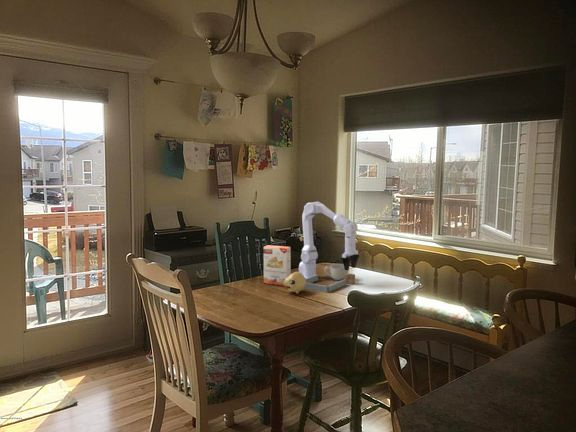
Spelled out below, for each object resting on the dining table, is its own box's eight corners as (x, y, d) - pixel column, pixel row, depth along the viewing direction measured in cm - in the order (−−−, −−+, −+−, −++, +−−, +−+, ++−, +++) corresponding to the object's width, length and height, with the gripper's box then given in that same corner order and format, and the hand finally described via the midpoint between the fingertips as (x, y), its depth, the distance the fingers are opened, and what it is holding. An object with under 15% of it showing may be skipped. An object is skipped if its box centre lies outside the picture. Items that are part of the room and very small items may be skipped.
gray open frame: (297, 287, 245) (297, 281, 245) (316, 280, 260) (316, 274, 260) (328, 292, 234) (328, 286, 234) (346, 284, 249) (346, 279, 249)
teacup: (348, 277, 267) (348, 263, 266) (348, 281, 256) (348, 267, 255) (324, 276, 268) (324, 263, 267) (323, 281, 257) (323, 267, 257)
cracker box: (263, 284, 252) (262, 246, 250) (267, 281, 257) (267, 244, 255) (286, 286, 246) (286, 248, 244) (291, 283, 252) (290, 246, 250)
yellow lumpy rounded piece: (279, 293, 233) (279, 272, 232) (295, 288, 242) (295, 268, 241) (293, 296, 226) (293, 275, 225) (309, 292, 235) (309, 271, 234)
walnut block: (344, 283, 252) (345, 274, 251) (348, 282, 255) (348, 273, 255) (351, 284, 250) (351, 275, 249) (354, 283, 253) (355, 274, 252)
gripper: (350, 246, 242) (350, 272, 243) (363, 243, 254) (362, 267, 255) (338, 245, 246) (338, 270, 247) (351, 242, 258) (351, 265, 259)
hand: (350, 268), depth 251 cm, fingers open, 7 cm apart
